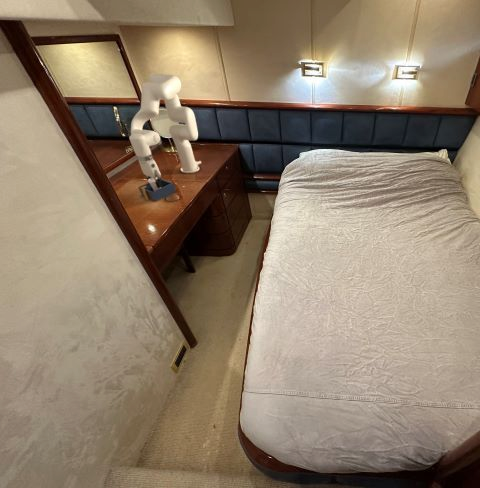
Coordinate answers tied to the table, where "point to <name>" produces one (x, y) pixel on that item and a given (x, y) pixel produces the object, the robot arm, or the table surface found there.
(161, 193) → the drawer
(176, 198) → the coaster
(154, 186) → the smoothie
